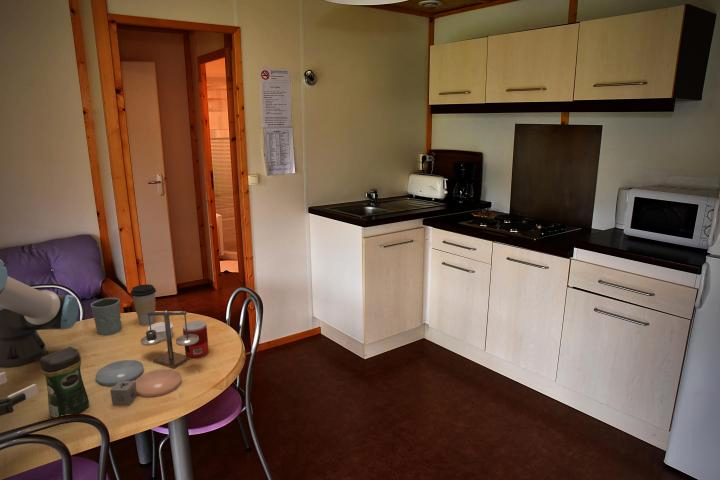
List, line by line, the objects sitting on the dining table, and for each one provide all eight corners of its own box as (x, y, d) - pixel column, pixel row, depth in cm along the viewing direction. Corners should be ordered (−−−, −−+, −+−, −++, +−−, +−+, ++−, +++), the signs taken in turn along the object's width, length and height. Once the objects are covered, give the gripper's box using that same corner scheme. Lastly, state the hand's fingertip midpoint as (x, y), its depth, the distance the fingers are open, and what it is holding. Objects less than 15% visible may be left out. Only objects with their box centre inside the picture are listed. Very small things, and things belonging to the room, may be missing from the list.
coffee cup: (150, 328, 194) (146, 292, 190) (129, 326, 196) (124, 290, 192) (164, 318, 203) (160, 284, 199) (143, 316, 205) (139, 282, 201)
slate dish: (86, 379, 157) (85, 375, 156) (124, 360, 169) (123, 356, 169) (116, 390, 151) (115, 386, 150) (153, 369, 163) (152, 365, 162)
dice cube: (137, 395, 148) (135, 381, 147) (129, 405, 143) (127, 390, 142) (121, 395, 148) (119, 381, 147) (112, 405, 143) (110, 390, 142)
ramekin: (155, 331, 191) (154, 321, 190) (177, 332, 191) (176, 321, 190) (144, 342, 183) (143, 331, 181) (168, 342, 182) (167, 331, 181)
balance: (138, 357, 171) (131, 304, 166) (154, 349, 177) (148, 297, 172) (190, 373, 160) (184, 317, 155) (205, 364, 166) (200, 309, 161)
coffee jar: (79, 398, 147) (69, 341, 142) (93, 406, 143) (84, 348, 138) (44, 414, 139) (33, 355, 134) (58, 423, 135) (47, 362, 130)
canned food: (213, 350, 176) (210, 322, 173) (197, 360, 169) (194, 331, 166) (197, 346, 179) (194, 318, 176) (180, 356, 172) (177, 327, 169)
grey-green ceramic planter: (99, 338, 185) (94, 309, 182) (91, 330, 193) (87, 301, 190) (127, 330, 192) (123, 302, 189) (118, 322, 199) (115, 295, 196)
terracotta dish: (123, 390, 151) (122, 386, 150) (159, 369, 163) (159, 365, 162) (155, 401, 145) (155, 397, 144) (191, 379, 157) (190, 375, 156)
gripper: (-102, 426, 116) (-4, 384, 134) (-46, 458, 105) (52, 407, 123) (-110, 398, 114) (-10, 359, 132) (-54, 427, 103) (47, 380, 122)
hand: (20, 382), depth 128 cm, fingers open, 13 cm apart
